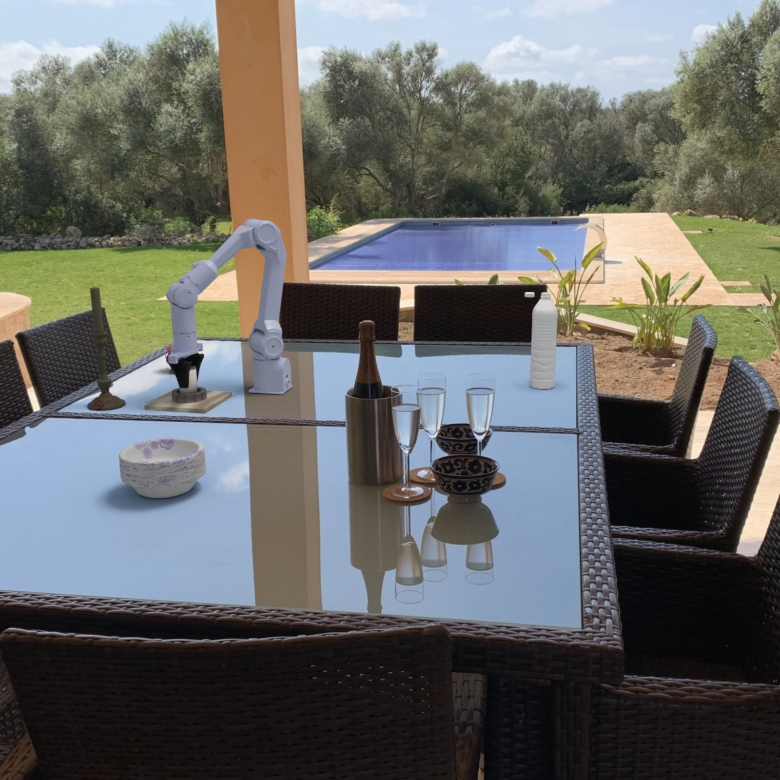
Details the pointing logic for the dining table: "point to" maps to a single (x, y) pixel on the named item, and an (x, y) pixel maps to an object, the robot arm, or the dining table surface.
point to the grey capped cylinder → (191, 383)
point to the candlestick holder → (101, 360)
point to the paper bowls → (162, 466)
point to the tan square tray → (189, 401)
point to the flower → (168, 354)
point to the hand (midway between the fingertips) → (188, 385)
